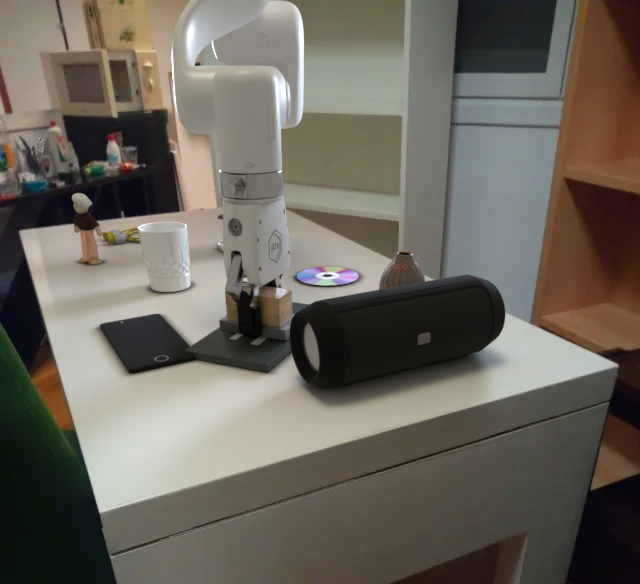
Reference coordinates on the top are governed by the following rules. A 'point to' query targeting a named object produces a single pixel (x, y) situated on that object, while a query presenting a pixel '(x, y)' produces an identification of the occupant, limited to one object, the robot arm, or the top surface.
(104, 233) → the yellow grey glove
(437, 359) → the portable speaker
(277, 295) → the eraser
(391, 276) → the vase
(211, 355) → the slate board
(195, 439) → the top surface
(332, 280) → the cd
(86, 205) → the grandmother figurine
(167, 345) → the cell phone
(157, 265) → the white cup
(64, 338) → the top surface
